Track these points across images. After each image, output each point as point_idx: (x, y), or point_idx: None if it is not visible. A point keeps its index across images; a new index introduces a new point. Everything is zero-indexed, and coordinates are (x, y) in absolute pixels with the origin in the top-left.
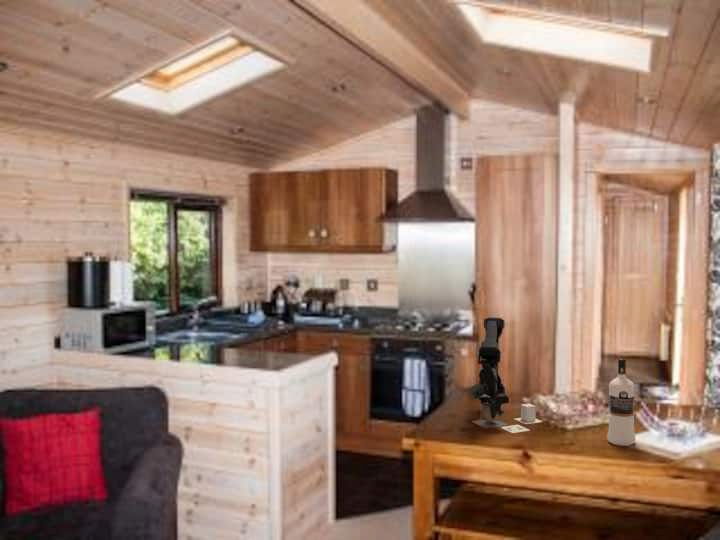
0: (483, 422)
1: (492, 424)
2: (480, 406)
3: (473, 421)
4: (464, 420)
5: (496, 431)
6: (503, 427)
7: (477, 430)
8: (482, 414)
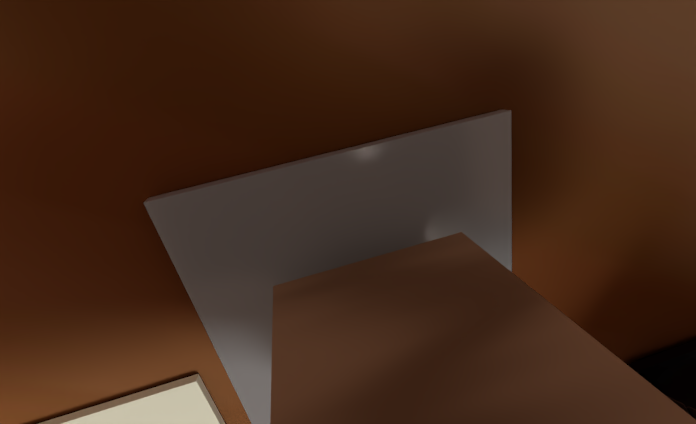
0: (410, 245)
1: None
2: (649, 397)
3: (490, 133)
4: (605, 39)
5: (40, 312)
6: (179, 408)
7: (85, 51)
8: (438, 296)
